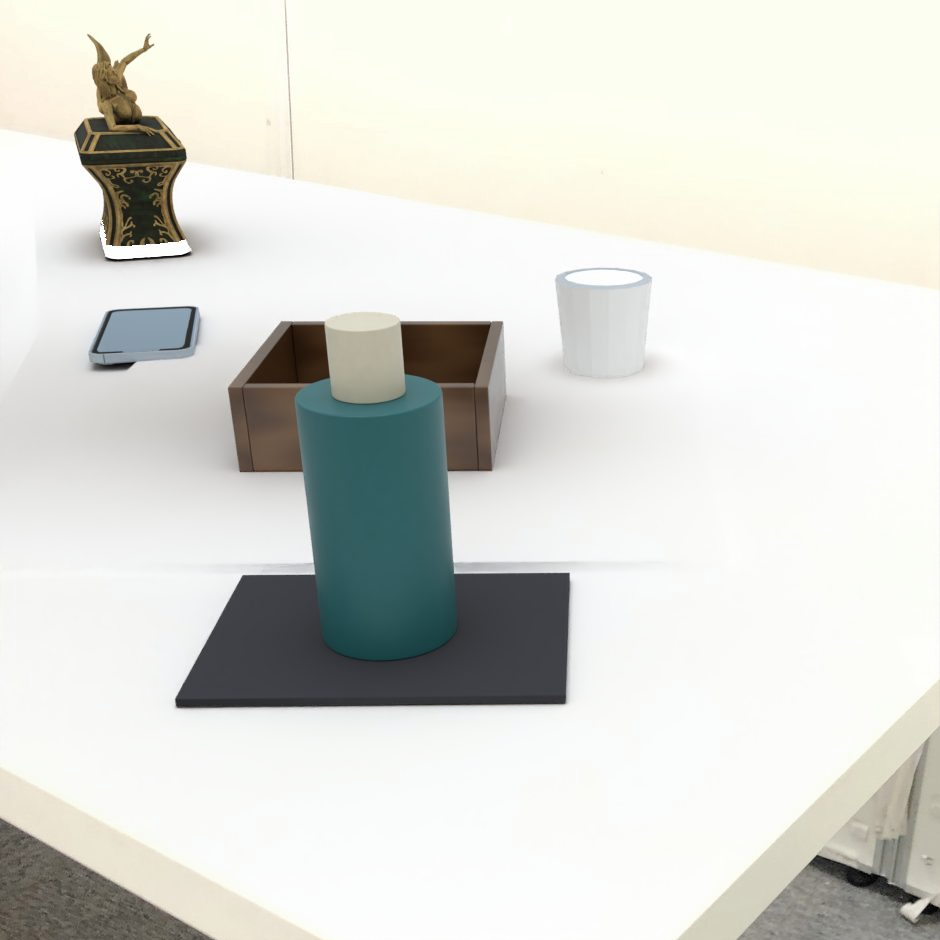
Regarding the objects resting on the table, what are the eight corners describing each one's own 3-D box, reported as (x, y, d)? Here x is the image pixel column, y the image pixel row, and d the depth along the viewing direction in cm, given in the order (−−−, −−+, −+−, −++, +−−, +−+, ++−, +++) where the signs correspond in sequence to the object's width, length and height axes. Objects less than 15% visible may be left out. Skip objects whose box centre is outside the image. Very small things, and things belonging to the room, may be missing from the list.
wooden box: (240, 481, 77) (227, 387, 75) (290, 403, 90) (281, 321, 88) (492, 480, 78) (488, 386, 75) (506, 402, 91) (503, 320, 88)
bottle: (311, 662, 57) (271, 340, 51) (334, 600, 63) (301, 302, 56) (450, 661, 57) (429, 340, 51) (462, 599, 63) (444, 302, 56)
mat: (176, 707, 55) (174, 698, 54) (243, 581, 65) (242, 574, 65) (565, 703, 55) (565, 694, 55) (569, 579, 66) (569, 572, 66)
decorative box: (204, 258, 130) (173, 37, 121) (99, 266, 127) (59, 39, 117) (183, 222, 146) (154, 25, 137) (90, 228, 143) (54, 26, 134)
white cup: (668, 379, 96) (670, 281, 92) (584, 393, 93) (582, 292, 89) (622, 356, 101) (622, 262, 98) (541, 368, 98) (538, 271, 95)
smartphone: (200, 305, 110) (193, 349, 97) (201, 316, 111) (194, 362, 98) (105, 309, 109) (86, 355, 96) (107, 321, 109) (88, 368, 96)
